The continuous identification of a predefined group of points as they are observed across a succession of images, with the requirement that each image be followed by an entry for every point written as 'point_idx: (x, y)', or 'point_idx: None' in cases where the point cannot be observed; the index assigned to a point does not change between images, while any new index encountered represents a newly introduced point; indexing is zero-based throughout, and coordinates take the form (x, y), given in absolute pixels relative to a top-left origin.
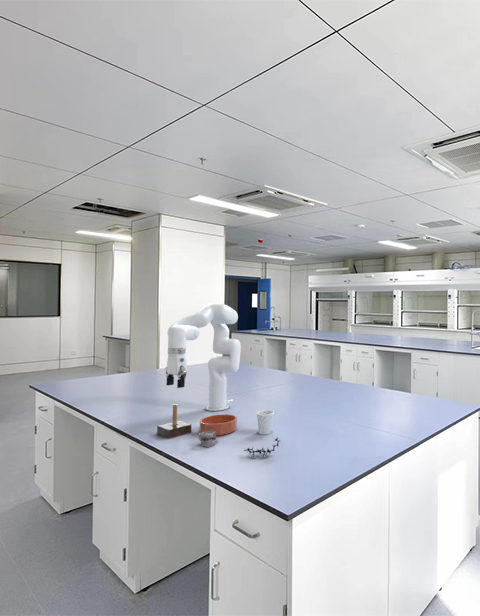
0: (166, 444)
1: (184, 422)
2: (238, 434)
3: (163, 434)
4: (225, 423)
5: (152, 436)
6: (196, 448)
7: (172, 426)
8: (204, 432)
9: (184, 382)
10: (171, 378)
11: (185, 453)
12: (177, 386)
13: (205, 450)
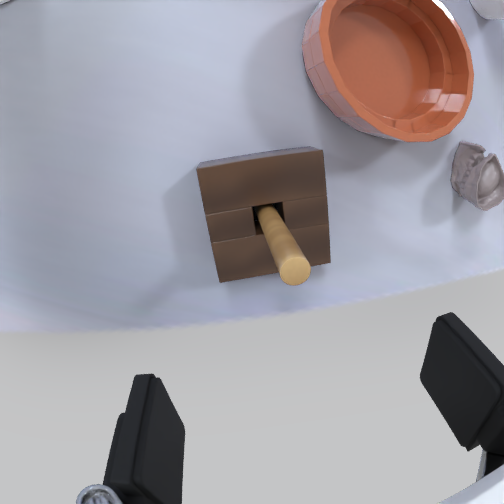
0: (373, 271)
1: (259, 162)
2: None
3: None
4: (471, 79)
5: (240, 284)
6: (469, 215)
7: None
8: (476, 182)
9: (485, 348)
10: (159, 480)
11: (471, 252)
12: (433, 387)
13: None
